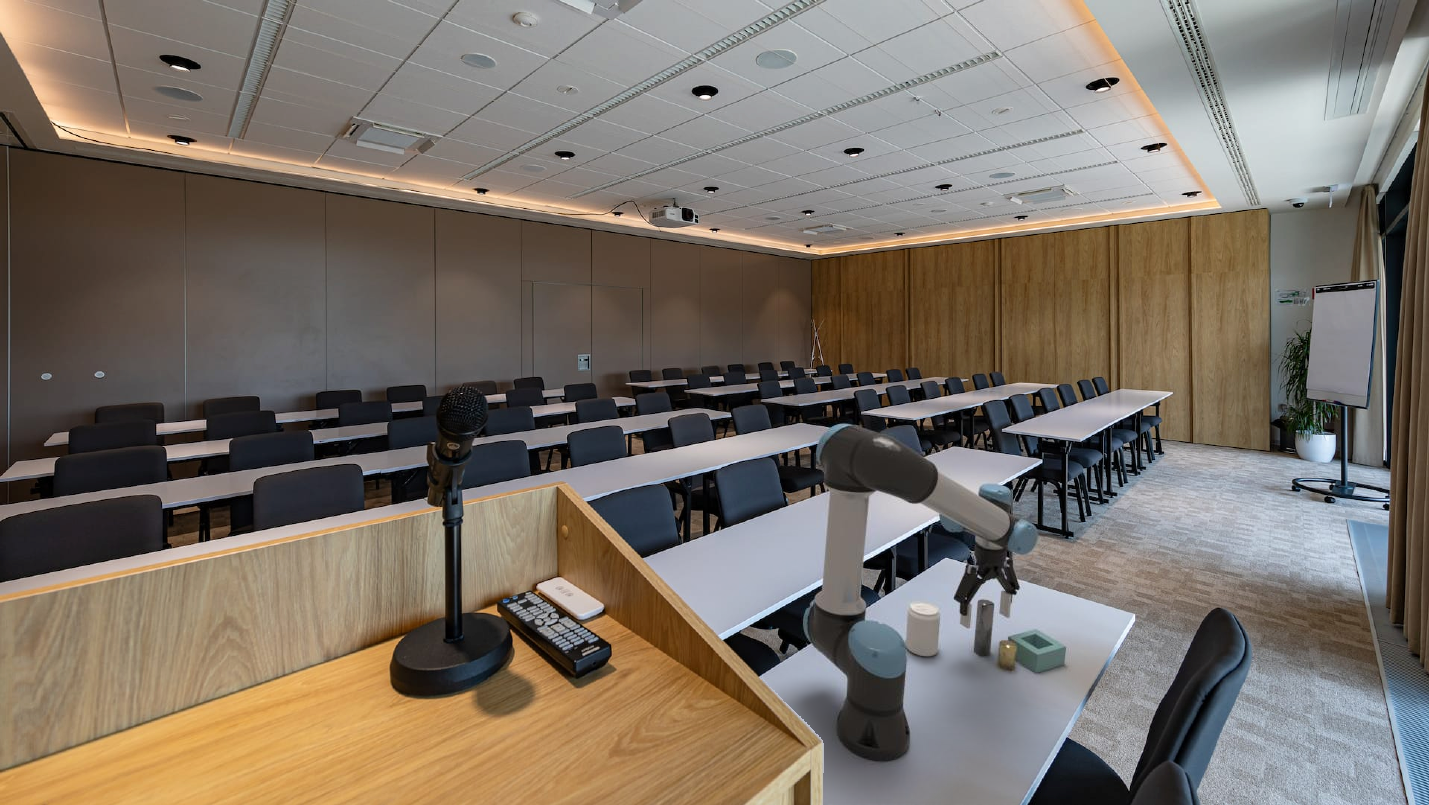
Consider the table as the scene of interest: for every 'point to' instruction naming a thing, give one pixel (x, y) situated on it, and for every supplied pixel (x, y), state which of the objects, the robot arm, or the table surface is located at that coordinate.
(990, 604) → the long pin
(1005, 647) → the short pin
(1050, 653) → the hole block
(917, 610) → the beverage can
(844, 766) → the table surface
